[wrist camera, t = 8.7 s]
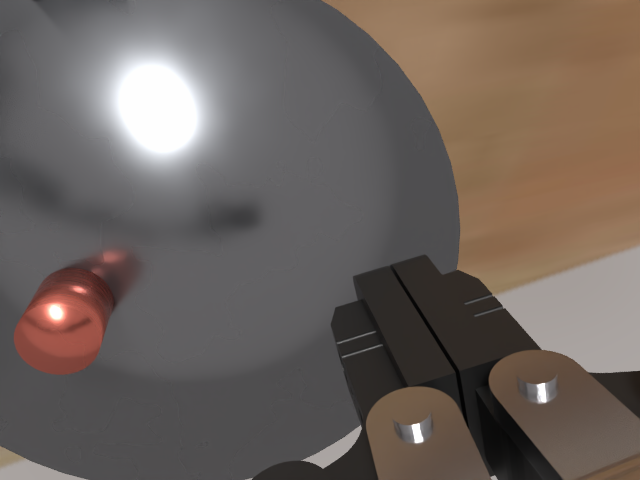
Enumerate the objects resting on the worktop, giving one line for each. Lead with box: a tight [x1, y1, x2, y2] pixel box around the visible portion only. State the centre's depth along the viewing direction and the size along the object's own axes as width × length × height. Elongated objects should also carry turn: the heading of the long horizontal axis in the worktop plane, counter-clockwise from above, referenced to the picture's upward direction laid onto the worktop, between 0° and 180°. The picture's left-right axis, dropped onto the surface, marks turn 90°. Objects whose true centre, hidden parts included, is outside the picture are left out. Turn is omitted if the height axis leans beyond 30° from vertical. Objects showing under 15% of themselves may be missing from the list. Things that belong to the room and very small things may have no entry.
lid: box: [0, 0, 460, 480], centre depth 16 cm, size 20×17×3 cm
